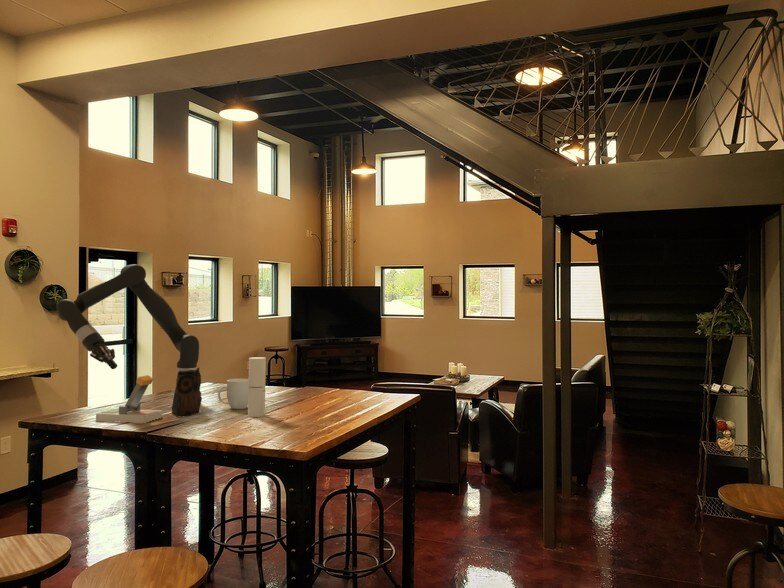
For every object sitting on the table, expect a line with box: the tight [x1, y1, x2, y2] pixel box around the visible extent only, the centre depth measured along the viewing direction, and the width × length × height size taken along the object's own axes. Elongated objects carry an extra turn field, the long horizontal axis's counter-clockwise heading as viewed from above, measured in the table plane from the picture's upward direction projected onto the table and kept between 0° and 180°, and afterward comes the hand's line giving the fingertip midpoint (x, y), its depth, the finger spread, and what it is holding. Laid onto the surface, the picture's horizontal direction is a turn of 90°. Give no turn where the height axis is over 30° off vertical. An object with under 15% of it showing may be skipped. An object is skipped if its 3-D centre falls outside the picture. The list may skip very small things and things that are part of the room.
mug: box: [217, 378, 249, 410], centre depth 255 cm, size 15×11×13 cm
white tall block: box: [247, 356, 267, 418], centre depth 239 cm, size 7×7×25 cm
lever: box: [124, 375, 154, 412], centre depth 226 cm, size 3×6×16 cm, turn 169°
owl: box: [171, 366, 203, 418], centre depth 240 cm, size 13×13×20 cm
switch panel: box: [95, 402, 163, 424], centre depth 227 cm, size 22×12×6 cm, turn 80°
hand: (115, 367), depth 229 cm, fingers closed
